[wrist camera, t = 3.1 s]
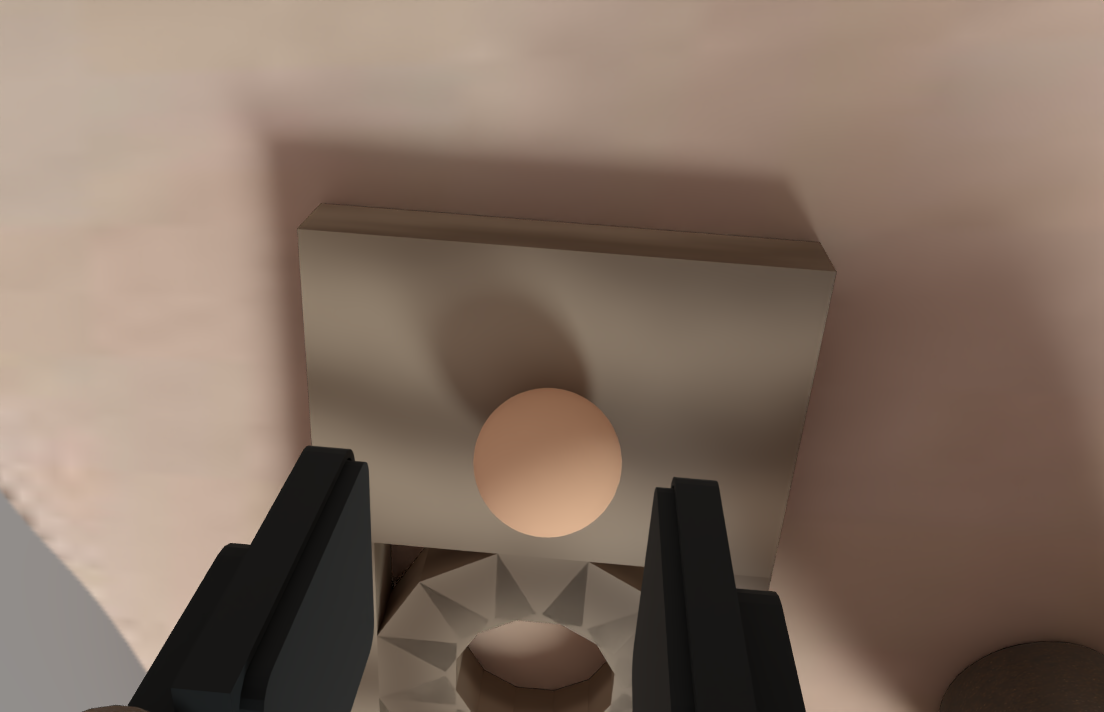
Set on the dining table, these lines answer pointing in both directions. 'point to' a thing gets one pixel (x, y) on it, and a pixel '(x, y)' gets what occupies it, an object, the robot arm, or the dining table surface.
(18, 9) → the dining table surface
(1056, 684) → the plant pot
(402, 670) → the board
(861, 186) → the dining table surface
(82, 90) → the dining table surface
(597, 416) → the ball
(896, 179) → the dining table surface
